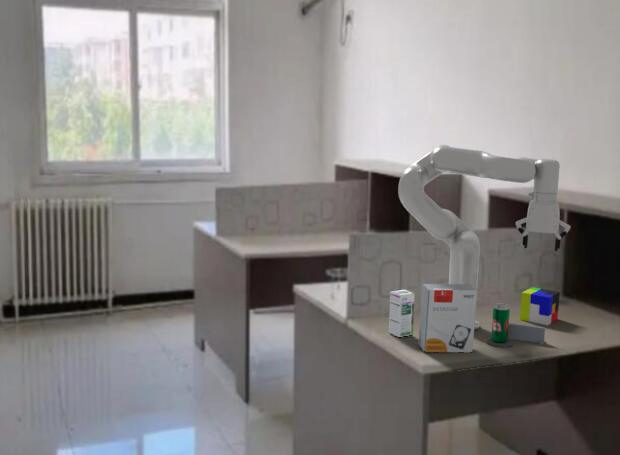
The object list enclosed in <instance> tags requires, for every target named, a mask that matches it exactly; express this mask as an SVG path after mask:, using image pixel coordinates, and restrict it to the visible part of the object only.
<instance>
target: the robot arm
mask: <svg viewBox="0 0 620 455" xmlns="http://www.w3.org/2000/svg"><path fill="white" fill-rule="evenodd" d="M560 166H561V165H560V162H559V161H558V160H556V159H550V158H548V159H546V158H542V159H534V158H529V157H518V158H512V157H505V156H499V155H494V154H491V153H490V152H486V151H484V150H477V149H476V150H475V149H468V148H467V149H466V148H459V147H454V146H453V147H452V146H449V145H448V144H447V145H446V144H442V145H441V144H440V145H438V146H436V147H435V148H433V149H432V150H431V151H430V152H429V153H427V154H425V155H424V156H422V157H421V158H420V159H419V160H416V161H415V162H413V163H412V164H411V165H409V166H408V167H407V168H406V169H405V170H403V172H402V174H401V176H400V178H399V182H398V187H397V188H398V189H397V191H398V192H397V193H398V199H399V200H400V203H401V204H402V206H403V207H404V209H406V211H407V212H408V213H409V214H410V215H411V216H412V217H413V218H414V219H415V220H416V221H417V222H418V223H419V224H420V225H421V226H422V227H423V228H424V229H425V230H426V231H427V232H428V233H429V234H430V235H431V236H432V237H433V238H434V239H437V240H440V241H443V242H444V243H445V244H446V245H447V246H448V247H449V249H450V250H449V271H448V272H449V273H448V284H465V285H471V286H472V287H474V288H475V289H476V290H477V291H478V280H479V278H478V277H479V266H480V256H481V254H480V253H481V245H480V239H479V237H478V235H477V234H476V233H475V232H474V231H473V230H472V229H471V228H470V227H469V226H468V225H467V224H466V223H465V222H464V221H463V220H461V219H460V217H459V216H457V215H456V214H455V213H454V212H452V211H451V210H449V209H446V208H442V207H441V206H440V205H439V204H437V202H435V200H433V199H432V198H431V197H429V195H428V194H427V193H426V192H425V189H424V188H425V187H426V185H427V184H429V183H430V182H431V181H433V180H435V179H436V178H437V177H439V176H440V175H442V174H444V173H449V174H456V175H464V176H470V177H471V176H472V177H475V178H482V179H491V180H495V181H496V180H497V181H504V182H511V183H518V184H525V183H526V184H527V183H529V182H531V181H532V180H533V181H534V182H533V192H529V193H528V198H531V199H532V200H530V202H529V203H528V208H527V215H526V217H524V218H521V219H520V220H517V221H516V222H515V226H516V229H517V230H518V232H519V233H520V234H521V235H522V236H521V237H522V246H523V247H524V249H527V248H528V246H529V245H528V243H529V233H530V232H531V233H541V234H551V235H552V234H554V236H555V237H556V238H555V241H554V242H555V244H554V252H558V249H559V250H560V248H561V239H562V238H564V237H565V236H566V235H567V234H568V232H569V231H570V230H571V225H570V224H568V223H565V222H564V221H562V220H561V219H560V217H561V215H560V214H561V213H560V204H559V202H558V190H559V179H560ZM525 223H526V225H525V228H523V227H522V224H525ZM560 226H561V227H563V228H564V230H563V231H561V232H560V231H559V228H560ZM475 315H476V313H475ZM479 328H480V322H479V321H477V320H476V319H475V326H474V331H475V330H477V329H479Z"/></svg>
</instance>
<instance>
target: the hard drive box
mask: <svg viewBox="0 0 620 455" xmlns="http://www.w3.org/2000/svg"><path fill="white" fill-rule="evenodd" d="M477 301H478V289H477V290H476V289H475V288H474V287H472V286H471V285H465V284H449V283H447V284H446V283H445V284H443V283H423V284H422V285H421V300H420V314H419V315H420V316H419V332H418V344H419V345H418V346H419V347H420V348H422V349H421V350H422V351H423V352H424V351H425V352H424V353H433V352H439V353H458V352H464V353H470V352H472V353H473V349H474V336H475V330H474V326H475V320H476V314H475V313H476V310H477Z"/></svg>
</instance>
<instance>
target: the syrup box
mask: <svg viewBox="0 0 620 455" xmlns="http://www.w3.org/2000/svg"><path fill="white" fill-rule="evenodd" d="M389 293H390V294H389V320H388V325H389V326H388V333H389V332H390V333H393V334H395V335H397V336H399V337H401V336H408V335H413V336H414V316H415V293H414V292H413V291H411V290H407V289H400V290H394V291H390V292H389ZM408 337H409V336H408Z"/></svg>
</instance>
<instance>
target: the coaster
mask: <svg viewBox="0 0 620 455" xmlns="http://www.w3.org/2000/svg"><path fill="white" fill-rule="evenodd" d="M486 343H487V345H489V346H491V347H494V348H495V347H496V348H510V347H512V346H513V344H514V342H513V341H512V339H508V341H507V342H505V343H496V342H494V341H493V340H492V339H491V337H490V338H489V337H488V338H487V339H486Z"/></svg>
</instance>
